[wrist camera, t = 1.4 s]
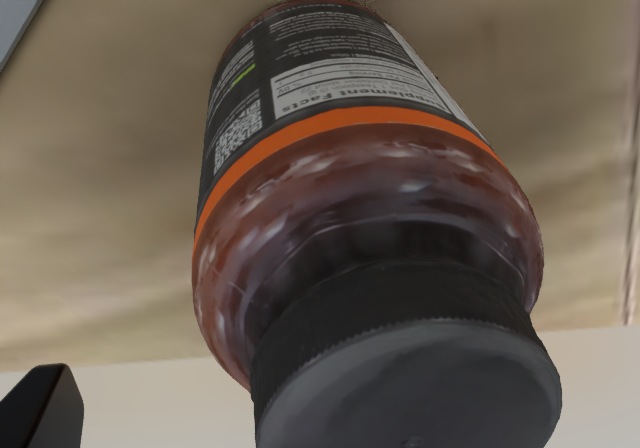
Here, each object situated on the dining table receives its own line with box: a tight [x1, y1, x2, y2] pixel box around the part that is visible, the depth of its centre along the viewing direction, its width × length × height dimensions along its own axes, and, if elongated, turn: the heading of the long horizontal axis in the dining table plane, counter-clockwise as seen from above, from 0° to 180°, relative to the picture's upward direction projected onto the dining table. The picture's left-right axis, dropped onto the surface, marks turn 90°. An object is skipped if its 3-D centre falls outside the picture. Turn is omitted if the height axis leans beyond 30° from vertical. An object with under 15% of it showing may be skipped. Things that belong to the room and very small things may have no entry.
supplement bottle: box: [192, 0, 562, 448], centre depth 12 cm, size 6×6×11 cm
